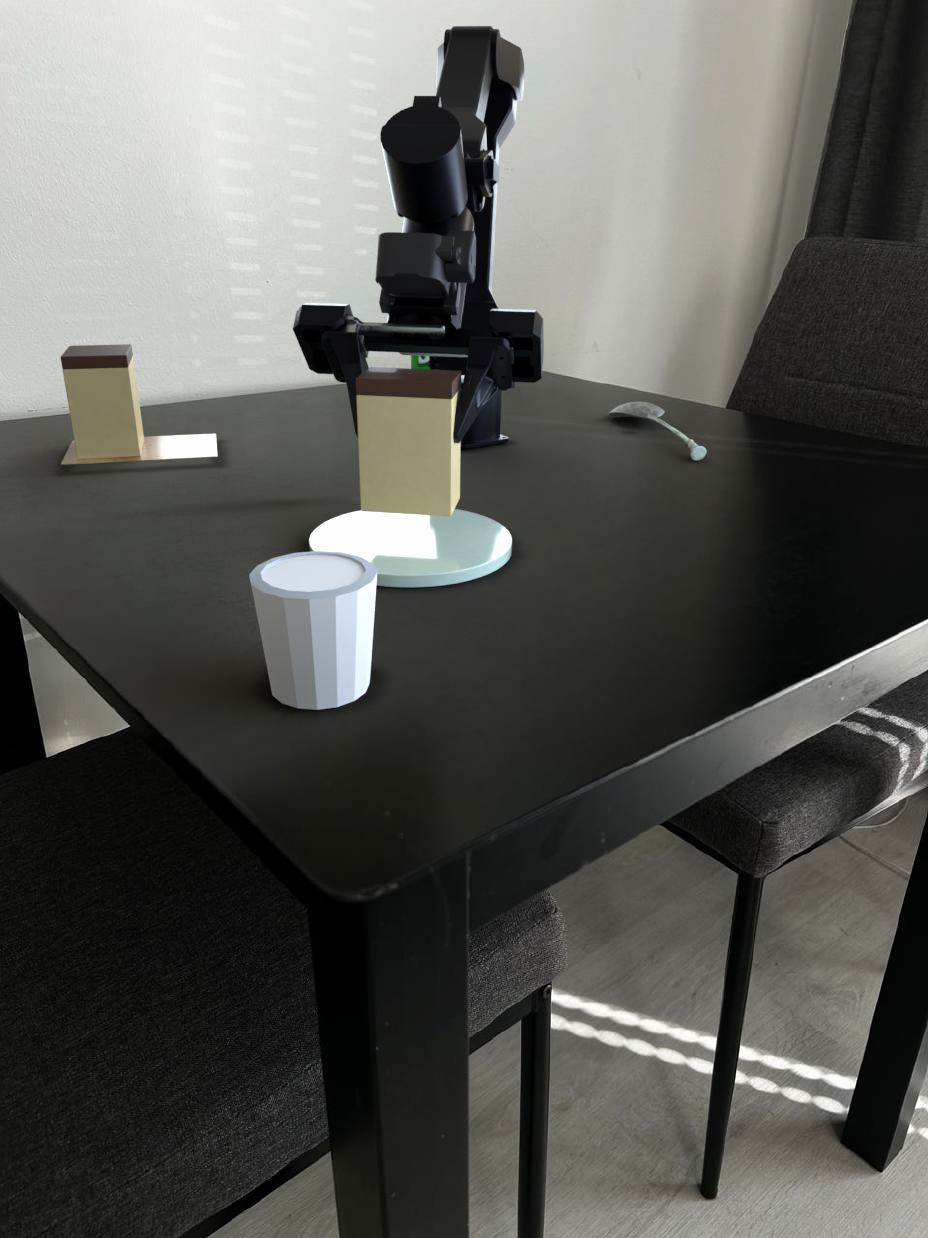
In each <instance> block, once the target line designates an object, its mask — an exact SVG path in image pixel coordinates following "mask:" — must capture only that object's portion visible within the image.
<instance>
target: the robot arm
mask: <svg viewBox="0 0 928 1238" xmlns="http://www.w3.org/2000/svg"><path fill="white" fill-rule="evenodd" d="M436 53H437V54H436V84H435V85H436V88H435V89H436V92H435V95H414V97H413V101H412V106H408V107H406V108H403V109H401V110H399V111H398V112H396V113H395V114H393V115H392V116H391V117H390V118H389V119H388V120H387V121H386V122H385V124H384V125H382V126H381V129H380V145H381V149H382V154H383V159H384V164H385V169H386V174H387V177H388V178H387V179H388V183H389V186H390V187H389V188H390V193H391V197H392V204H393V207H394V210H395V213H396V214H397V216H398V217H400V218H403V223H402V229H401V232H400V231H397V232H396V231H393V232H392V231H387V232H385V231H384V232H381V233H380V234H378V235H377V236H378V237H377V247H376V248H377V250H376V262H375V275H374V276H375V279H374V281H375V283H376V284H379V286H380V288H381V289H380V295H379V300H378V304H379V309H380V312H381V314H387V317H386V318H387V319H386V322H374V321H373V322H371V321H370V322H368V321H367V322H366V321H362V320H361V319H359V318H358V317H356V316H354V314H353V311H352V307H351V304H349V303H331V302H330V303H329V302H327V303H324V302H305V303H303V304H301V305H300V306H299V308H298V309H297V310H296V312H295V315H294V321H293V325H292V326H293V327H292V331H293V333H294V336H295V339H296V341H297V344H298V345H299V348H300V351H301V352H302V355H303V357H304V360H305V362H306V364H307V367H308V369H309V370H310V371H312V372H314V373H316V374H318V375H333V377H334V379H335V380H336V381H337V382H339V383H342V384H343V383H344V384H346V388H347V395H348V399H349V407H350V411H351V417H352V422H353V428H354V432H355V435H356V438H357V439H358V424H357V397H356V396H357V395H356V378H357V377H358V376H359V375H361V374H362V373H363V372H365V371H366V370H367V369H369V368H370V366H369V363H368V361H367V358H368V357H369V352H380V353H398V354H400V355H401V356H411V355H415V356H429V361H430V370H454V371H461V392H460V396H459V401H458V405H457V409H456V413H455V422H454V432H453V439H454V443H460V441H461V445H460V449H465V450H466V449H472V448H479V447H484V446H491V445H497V444H503V443H508V442H509V439H510V438H509V437H508V436H506V435H503V434H501V425H502V424H501V421H502V394H503V393H502V392H506V391H507V390H510V389H515V388H516V387H515V386H516V383H531V384H535V383H537V382H539V381H540V380H542V378H543V369H544V368H543V367H544V351H545V350H544V348H545V346H544V344H545V343H544V340H545V339H544V318H543V316H542V315H541V313H539V311H538V310H537V309H517V308H516V309H515V308H514V309H513V308H499V305H498V303H497V302H496V299H495V297H494V295H493V280H494V279H493V278H494V263H495V262H494V261H495V260H494V259H495V240H496V225H497V223H496V222H497V202H498V185H499V184H498V183H499V182H500V165H499V163H500V149H501V147H502V146H503V144H504V142H505V141H506V139H507V137H508V136H509V134H510V133H511V131H512V130H513V128H514V127H515V125H516V122H517V109H518V101H523V100H524V92H525V61H524V55H523V50H522V47H520V46H518V45H516V44H514V43H513V42H511V41H509V40H507V39H505V38H503V37H502V36H501V31H500V30H499V28H494V27H493V26H491V25H462V26H461V25H454V26H453V25H452V27H451V28H450V29H449V28H447V29H445V30H444V34H443V43H441V44H440V45H439V46H438V47H437V51H436Z"/></svg>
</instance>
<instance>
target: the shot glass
mask: <svg viewBox="0 0 928 1238" xmlns="http://www.w3.org/2000/svg"><path fill="white" fill-rule="evenodd" d="M248 576H249V581H250V586H251V591H252V597H253V602H254V607H255V613H256V618H257V623H258V628H259V632H260V639H261V644H262V648H263V654H264V659H265V664H266V669H267V675H268V680H269V685H270V691H271V695H272V697H274V698H275V699H276V700H277V701H278V702H280V703H281V704H282V705H286V706H289V707H292V708H295V709H301V710H313V711H315V710H317V711H319V710H326V709H333V708H339V707H342V706H345V705H348V704H350V703H353V702H355V701H357V700H359V698H361V697H362V696H363V695H365V694H366V693H367V691H368V688H369V686H370V683H371V671H372V656H373V642H374V641H373V640H374V627H375V611H376V609H375V608H376V597H377V586H376V584H377V571H376V569H375V567H374V565H373V563H371V562H369V561H367V560H365V559H363V558H361V557H360V556H355V555H351V554H346V553H342V552H328V551H311V552H309V551H301V552H292V553H288V554H284V555H280V556H275V557H272V558H270V559H268V560H266V561H264V562H261V563H260V564H257V565H255V567H254V568H253V569H252V571H251V572H250V573H249V574H248Z"/></svg>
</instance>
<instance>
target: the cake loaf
mask: <svg viewBox="0 0 928 1238" xmlns="http://www.w3.org/2000/svg"><path fill="white" fill-rule="evenodd" d="M60 365H61V369H62V374H63V375H62V376H63V381H64V387H65V392H66V399H67V404H68V411H69V416H70V417H69V418H70V423H71V430H72V434H73V438H74V439H73V440H74V441H75V447H76V453H77V459H97V458H117V457H137V456H141V452H142V447H143V443H144V437H145V434H144V427H143V419H142V413H141V403H140V397H139V390H138V383H137V377H136V375H137V374H136V368H135V367H136V366H135V360H134V353H133V346H132V344H131V343H128V344H127V343H125V344H123V343H122V344H84V345H83V344H82V345H78V344H77V345H69V346H68V347H67V348H66V350H65V351H64V352H63V353H62V355H61V356H60Z"/></svg>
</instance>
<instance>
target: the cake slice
mask: <svg viewBox="0 0 928 1238" xmlns="http://www.w3.org/2000/svg"><path fill="white" fill-rule="evenodd" d="M460 392H461V371H454V370H430V369H411V368H406V367H405V368H402V367H379V366H377V367H376V366H369V369H367V370H366V371H365V372H363V373H362V374H361V375H359V376H358V377H357V378H356V395H357V396H356V397H357V424H358V438H357V446H358V447H357V448H358V449H357V451H358V475H359V502H360V503H359V504H360V505H359V506H360V510H361V511H366V512H383V513H399V514H415V515H432V516H448V517H451V515H452V513H453V511H454V509H456V507H457V505H458V503H459V501H460V499H461V448H460V445H461V441H460V443H454V439H453V432H454V422H455V413H456V409H457V405H458V401H459V396H460Z"/></svg>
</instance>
